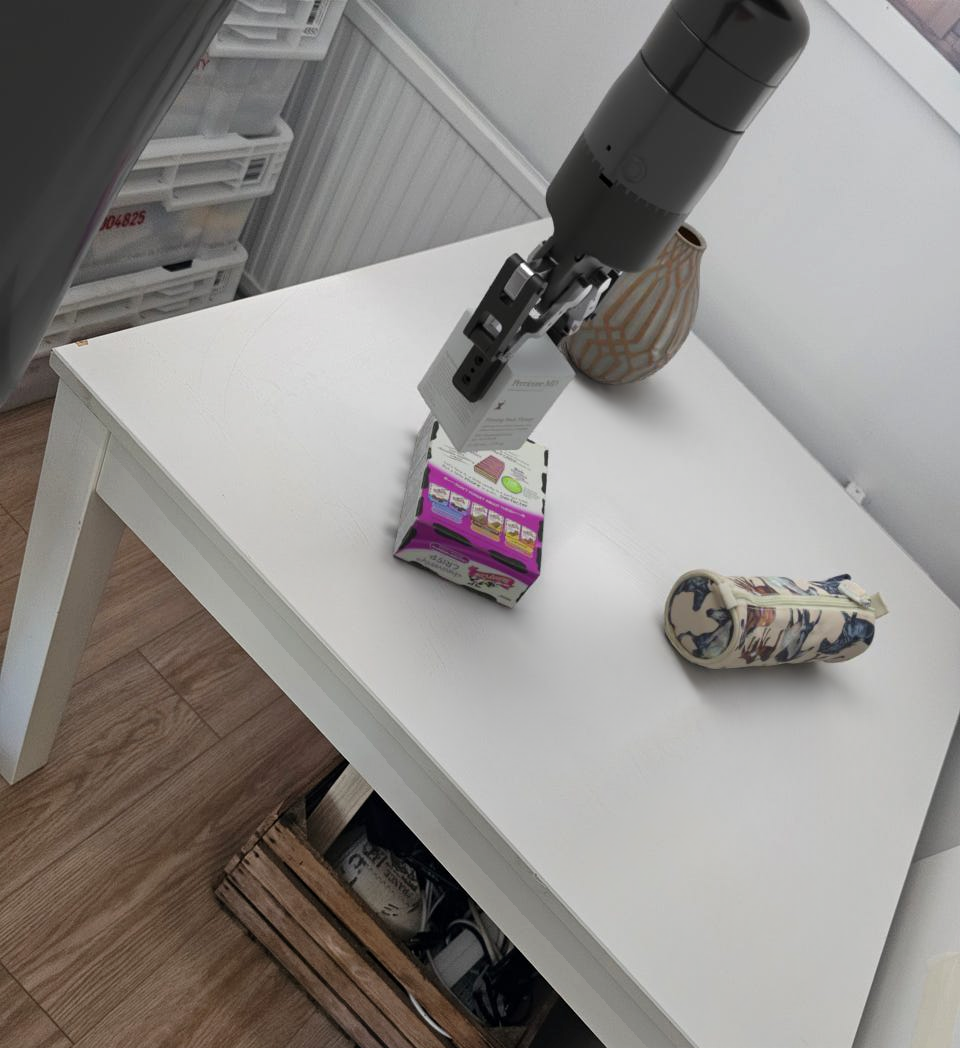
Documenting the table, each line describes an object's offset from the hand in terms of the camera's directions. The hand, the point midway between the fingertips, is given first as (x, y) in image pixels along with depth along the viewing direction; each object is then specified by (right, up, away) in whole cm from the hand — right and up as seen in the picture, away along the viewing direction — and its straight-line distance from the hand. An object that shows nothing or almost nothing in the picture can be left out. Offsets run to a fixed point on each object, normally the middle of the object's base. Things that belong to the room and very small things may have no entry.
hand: (496, 378), depth 69 cm
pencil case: (+23, -18, +29) cm, 42 cm away
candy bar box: (-2, -12, +12) cm, 17 cm away
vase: (+11, +13, +47) cm, 50 cm away
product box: (-2, -2, +3) cm, 4 cm away
